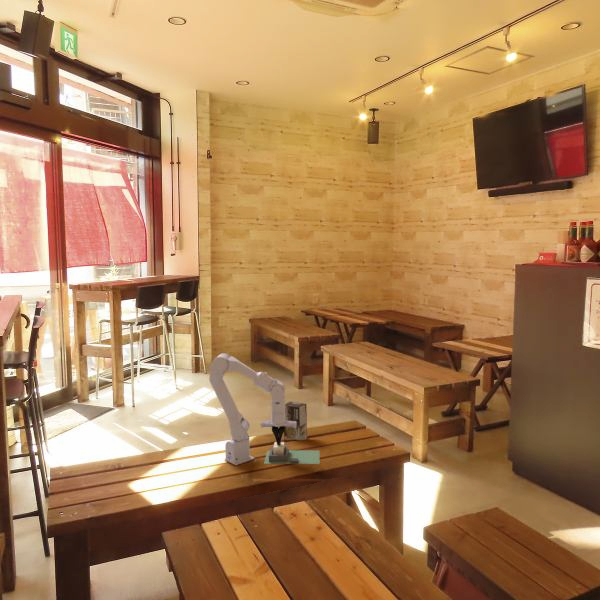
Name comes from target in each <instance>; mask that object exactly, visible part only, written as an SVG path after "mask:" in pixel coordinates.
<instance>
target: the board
mask: <svg viewBox="0 0 600 600" xmlns="http://www.w3.org/2000/svg"><path fill="white" fill-rule="evenodd" d="M273 446H274V445H273ZM273 446H270V448H269V449H270V450H269V449H268V450H267V451H266V455H265V458H264V461H263V462H264V463H263V464H264V465H320V450H316V449H315V450H307V449H306V450H300V449H299V450H290V446H289V445H287V446H286V445H284V447H285V454H284V455H273Z"/></svg>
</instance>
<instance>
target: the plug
mask: <svg viewBox="0 0 600 600" xmlns="http://www.w3.org/2000/svg"><path fill="white" fill-rule="evenodd" d="M284 446H285V441H281V445H277V442H276V441H275V442H274V443H273V455H284V454H285V447H284Z"/></svg>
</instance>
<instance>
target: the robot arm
mask: <svg viewBox="0 0 600 600" xmlns="http://www.w3.org/2000/svg"><path fill="white" fill-rule="evenodd" d="M209 368H210V369H209V370H210V371H209V383H210V385H211V387H212V389H213V390H214V392H215V395H216V397H217V399H218V401H219V403H220V405H221V407H222V409H223V411H224V414H225V416H226V417H227V420H228V426H229V429H230V436H231V439H230V440H228V441H227V442H226V443H225V458H224V460H225V461H226V462H227V463H230V464H232V465H235V466H238V465H241V464H243V463H246V462H249V461H252V460H255V457H253V456H251V454H250V453H251V451H250V450H251V449H250V435H249V434H248V431H250V423H249V421H248V420H247V419H246V418H244V416H243V414H242V413H240V411H239V409H238V407H237V405H236V403H235V401H234V399H233V397H232V395H231V392H230V391H229V388H228V387H227V385H226V383H225V381H224V376H225V373H226V371H227V372H234V371H235V372H238V373H240V374H242V375H244V376H245V377H248V378H249V379H251V380H253V383H254V385H255V386H257V387H259V388H261V389H262V390H263V391H266V392H267V393H269V394H270V396H271V400H270V404H271V405H270V407H271V408H270V409H271V410H270V412H271V413H270V414H271V419H270V420H264V421H260V428H271V432H272V433H273V436H274V439H275V442H277V445H281V442H282V437H283V436H284V430H285V427H296V421H286V420H285V404H286V396H285V393H286V392H285V391H286V386H285V383H284V382H282V380H279V379H277V378H273V377H271V376H270V375H268V372H266V371H264V372H263V371H260V372H258V371H255V370H254V369H252V368H251V367H249V366H248V365H246V364H245V363H243V362H241V361H240V360H239V359H238V358H236V357H235V356H233V355H229V354H228V353H226V352H223V353H220V354H218V355H217V356H216V357H214V359H213V360H212V362H211V364H210V366H209Z"/></svg>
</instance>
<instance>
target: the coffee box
mask: <svg viewBox="0 0 600 600" xmlns="http://www.w3.org/2000/svg"><path fill="white" fill-rule="evenodd" d="M307 417H308V415H307V403H304V402H303V403H302V402H297V401H289V402H285V420H286V421H296V427H285V430H284V433H283V439H284V440H286V439H287V441H288V440H290V441H294V440H295V441H304V440H307V439H308V426H307V425H308V424H307V422H308V420H307V419H308V418H307Z"/></svg>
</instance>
